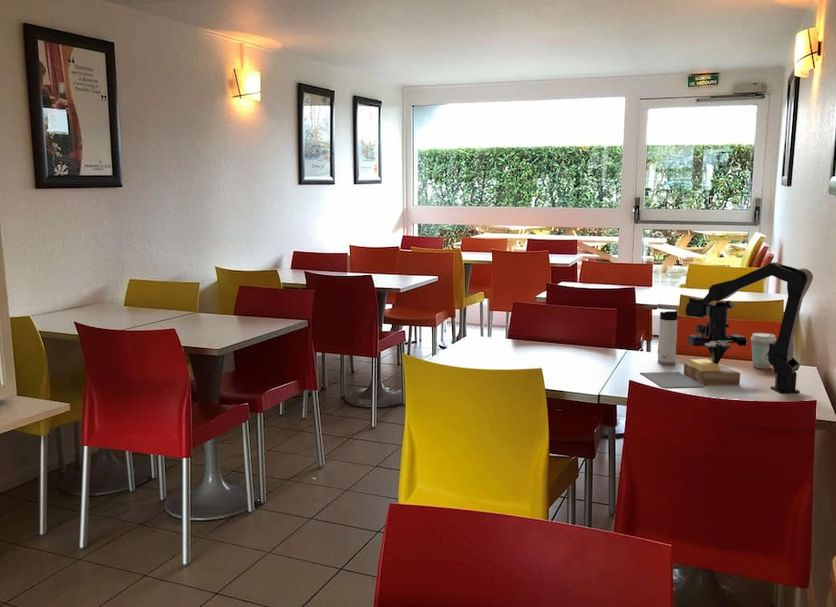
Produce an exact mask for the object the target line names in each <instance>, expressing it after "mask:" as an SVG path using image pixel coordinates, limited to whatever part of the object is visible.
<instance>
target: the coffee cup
mask: <svg viewBox="0 0 836 607" xmlns="http://www.w3.org/2000/svg"><path fill="white" fill-rule="evenodd" d="M750 340H751V354H752V355H751V356H752V357H751V358H752V367H753V368H755V367H756V368H755V369H761V370H765V369H766V370H767V369H771V367H772V365H771V364H770V363H769V361H768V356H769V355H768V356H767V354H768V352H769V344H770V343H772V342H774V341H777V337H776V335H775V334H773V333H766V332H755V333H752V335H751V337H750Z"/></svg>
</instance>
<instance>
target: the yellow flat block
mask: <svg viewBox="0 0 836 607" xmlns="http://www.w3.org/2000/svg"><path fill="white" fill-rule="evenodd" d="M689 363H690V365H691V366H693V367H694V368H696V369H698V370H700V371H719V365H718V364H716V363H714V362H713V361H712V360H709V359H707V358H703V359H702V358H701V359H699V358H698V359H693V358H692V359H691V358H690V359H689Z"/></svg>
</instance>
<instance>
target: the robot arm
mask: <svg viewBox="0 0 836 607" xmlns="http://www.w3.org/2000/svg"><path fill="white" fill-rule="evenodd" d="M771 276H772V277H774V278H777V279H779V280H781V281H783V282H787V283H786V291H787V298H786V299H787V301H786V303H785V308H784V310H783V311H784V312H783V315H782V320H781V325H780V328H779V331H778V332H779V333H778V337H777V338H776V341H774V342H772V343H770V344H769V352H768V354H767V356H768V355H769V356H768V361H769V363H770V364H771V367H772V368H773V371H774V374H775V376H774V377H775V379H774V385H772V386H770V387H769V388H770V389H772V390H774V391H777V392H778V393H780V394H785V393H786V394H789V393H795V394H796V393H800V392H801V391H800V390H799V389H797V388H796V387H797V371H799V369H800V366H801V364H800V362H798V361H797V360H796V358H795V357H794V343H793V342H794V341H793V339H794V335H795V331H796V328H797V323H798V318H799V315H800V312H801V307H802V303H803V301H804V300H803V299H804V297H805V296H806V294H807V292H808V291H809V288H810V286H811V285H812V282H813V279H814V276H813V273H812V272H811V270H809V269H807V268H804V267H803V268H795V267H792V266H789V265H784V264H782V263H779V262H775V261H774V262H770V263H767V264H766V265H763V266H762V267H759V268H758V269H755V270H753V271H750V272H748V273H746V274H744V275H742V276H739V277H737V278H734V279H730V280H726V281H722V282H719V283H715V284H712V285H711V286H710V287H709V289H708V293H707V294H706V295H705V296H704V298H697V297H695V296H693V297H692V296H691V297H689V298H688V301H687V304H686V306H685V315H686V317H689V318H697V319H706V318H707V317H708V321H707V322H706V326H705V325H704V324H703V323H702V324H701V323H698V324H696V325H695V334H692V335H691V334H689V335H688V336H687V337H686V344H688V345H691V346H692V347H703V346H704V347H706V348H707V350H708V352H709V354H710V357H711V361H712V362H714V363H716V364H718V363H720V361H721V360H722V358H723V356H724V354H725V353H726V351H727V350H728V349H731V346H730V345H729V344H731V343H732V344H734V343H735V344H736V345H737V346H739V347H741V346H743V347H744V346H747V345H748V339H747V338H746V336H744V335H742V334H729V335H727V329H728V328H729V327H730V324H729V323H728V315H729V314H728V313H729V312H728V311H729V309H731V310H732V309H733V308H735V307H736V305H735V304H733V303H732V302H731V300H727V299H729V298H730V297H731V296H733V295H735V294H736V293H737V292H738V291H741V289H744V288H746V287H748V286H750V285H754V284H755V283H758V282H760V281H762V280H765V279H767V278H769V277H771ZM723 300H727V301H726V302H723ZM713 302H716V303H713Z"/></svg>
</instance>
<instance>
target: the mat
mask: <svg viewBox="0 0 836 607" xmlns="http://www.w3.org/2000/svg"><path fill="white" fill-rule="evenodd" d="M639 374H640V375H642V376H643V377H645V378H646V379H648V380H649V381H650V382H652V383H654V384H655V385H657V386H659V387H660V388H662V387H663V388H662V389H688V388H691V389H692V388H693V389H695V388H698V389H699V388H705V386H704V385H702V384H701V383H699V382H697V381H695V380H693V379H692V378H690V377H688V376H686V375H685V374H684V373H681V372H679V371H663V372H662V371H660V372H659V371H656V372H654V371H653V372H651V371H650V372H649V371H648V372H640V373H639Z"/></svg>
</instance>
